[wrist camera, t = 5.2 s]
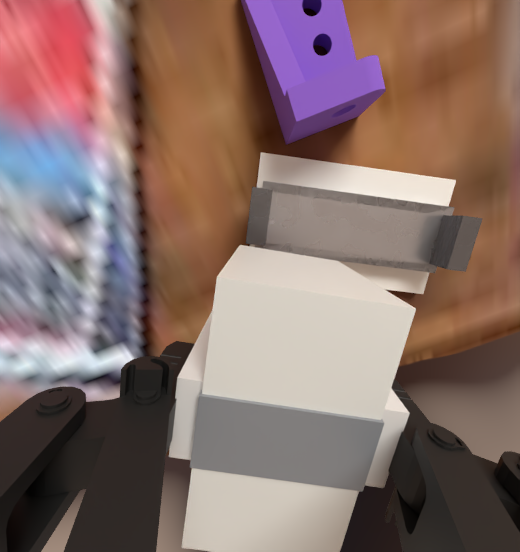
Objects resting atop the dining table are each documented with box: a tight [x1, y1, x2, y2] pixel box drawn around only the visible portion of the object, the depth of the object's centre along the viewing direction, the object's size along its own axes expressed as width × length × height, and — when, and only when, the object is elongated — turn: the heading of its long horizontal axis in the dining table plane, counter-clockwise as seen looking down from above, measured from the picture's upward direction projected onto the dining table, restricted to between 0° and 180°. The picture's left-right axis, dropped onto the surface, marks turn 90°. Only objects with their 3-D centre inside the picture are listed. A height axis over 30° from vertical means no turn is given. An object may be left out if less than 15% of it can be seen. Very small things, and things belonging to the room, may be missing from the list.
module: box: [182, 245, 416, 552], centre depth 11 cm, size 5×9×7 cm, turn 171°
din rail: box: [246, 181, 482, 273], centre depth 23 cm, size 19×6×4 cm, turn 83°
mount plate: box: [250, 152, 456, 294], centre depth 26 cm, size 18×11×1 cm, turn 83°
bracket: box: [241, 0, 385, 145], centre depth 20 cm, size 12×7×7 cm, turn 20°
